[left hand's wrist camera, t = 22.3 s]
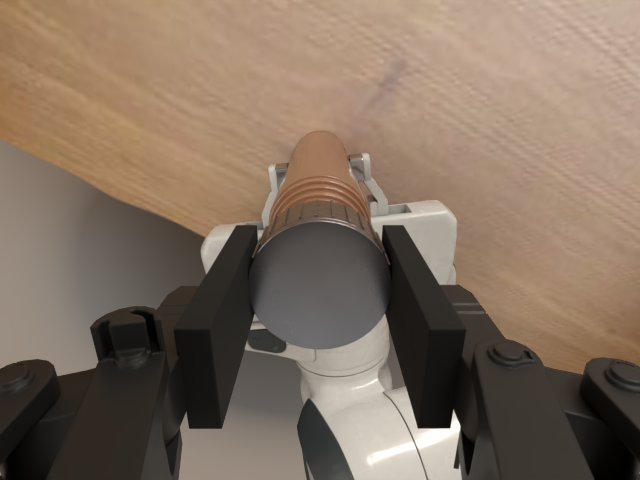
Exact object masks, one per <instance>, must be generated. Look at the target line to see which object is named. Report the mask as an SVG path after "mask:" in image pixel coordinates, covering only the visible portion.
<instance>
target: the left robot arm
mask: <svg viewBox="0 0 640 480" xmlns="http://www.w3.org/2000/svg"><path fill="white" fill-rule="evenodd" d="M257 243H258V232H257V225H236V226H235V228H234V230H233V231H232V233H231V235H230V236H229V238H228V240H227V241H226V243H225V245H224V246H223V248H222V250H221V251H220V253H219V254H218V256H217V258H216V259H215V261H214V263H213V264H212V266H211V268H210V269H209V271H208V273H207V274H206V276H205V278H204V279H203V281H202V283H201V284H200V286H181V287H179V288H177V289H176V290H174V291H173V292H171V293H170V294H168V295H167V297H166V298H165V299H164V301H163V302H162V303H161V306H160V307H159V308H158V309H157V310H155V309H154V308H149V307H145V306H134V307H128V308H123V309H119V310H116V311H113V312H111V313H108V314H106V315H104V316H103V317H101V318H99V319H98V320H96V321H95V322H94V324H93V325H92V326H91V327H90V330H91V334H92V337H93V341H94V345H95V349H96V353H97V357H98V361H99V362H98V364H97V366H96V368H94V369H90V370H86V371H81V372H77V373H72V374H67V375H62V376H57V374H56V371H55V368H54V365H52V364H51V363H50V362H49V361H46V360H39V359H35V360H26V361H20V362H17V363H13V364H10V365H7V366H5V367H3V368H1V369H0V473H1V476H0V480H178V478H179V469H180V460H181V451H182V439H181V432H180V425H181V423H182V420H183V418H184V415H185V413H186V411H187V417H188V424H189V428H190V429H222V426H223V423H224V419H225V416H226V412H227V409H228V405H229V402H230V398H231V395H232V391H233V388H234V384H235V381H236V377H237V374H238V370H239V367H240V363H241V360H242V357H243V353H244V350H245V346H246V343H247V339H248V336H249V332H250V329H251V325H252V322H253V318H254V315H255V313H254V311H253V309H252V307H251V304H250V301H249V289H248V273H249V269H250V266H251V263H252V261H253V259H251V258H252V255H253V253H254V250H255V248H256V245H257ZM382 244H383V246H384V249H385V251H386V255H387V258H388V260H389V263H390V270H391V275H392V285H391V298H390V303H389V306H388V308H387V310H386V312H385V315H386V319H387V322H388V326H389V329H390V333H391V336H392V340H393V343H394V347H395V350H396V354H397V357H398V361H399V364H400V368H401V371H402V375H403V378H404V382H405V385H406V389H407V392H408V396H409V399H410V403H411V406H412V410H413V413H414V417H415V420H416V424H417V427H418V429H450V428H451V422H452V416H453V410H454V412H455V414H456V417H457V419H458V421H459V424H460V426H461V427H460V432H459V438H458V444H457V450H456V455H455V461H454V469H459V465H460V468H461V478H462V480H640V474H639V472H640V367H639V366H637V365H635V364H633V363H630V362H627V361H624V360H619V359H613V358H603V357H602V358H596V359H592V360H590V361H589V362H588V363H587V364H586V367H585V370H584V373H583V375H582V374H577V373H572V372H567V371H562V370H557V369H552V368H549V367H545V366H544V365H543V363H542V361H541V360H540V358H539V357H538V356H537V354H536V353H535V352H533V351H532V350H530V349H529V348H528V347H526V346H524V345H522V344H520V343H517V342H515V341H512V340H508V339H505V337H504V336H503V335H502V333H501V332H500V331H499V329H498V328H497V327H496V325H495V324H494V323H493V321H492V320H491V318H490V317H489V316H488V314H486V312H485V310H484V309H483V308H482V306H481V305H479V302H478V301H477V299H476V298H475V297H474V295H473V294H472V293H471V292H469V291H468V290H466V289H464V288H463V287H461V286H460V285H439V283H438V281H437V280H436V278H435V276H434V275H433V273H432V271H431V270H430V268H429V267H428V265H427V263H426V262H425V260H424V258H423V257H422V255H421V253H420V252H419V250H418V248H417V247H416V245H415V243H414V242H413V240H412V238H411V237H410V235H409V233H408V232H407V230H406V228H405V227H404V225H383V228H382Z"/></svg>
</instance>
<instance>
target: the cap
mask: <svg viewBox="0 0 640 480" xmlns="http://www.w3.org/2000/svg"><path fill="white" fill-rule="evenodd" d="M251 259H253V261H252V263H251V266H250V269H249V273H248V289H249V301H250V304H251V307H252V309H253V311H254V313H255V315H256V316H257V318H258V319H259V321H260V322H261V323H262V324H263V325H264V327H265V328H266V329H267V330H269V331H270V332H271V333H272V334H273V335H275V336H276V337H278V338H279V339H281V340H283V341H285V342H287V343H289V344H292V345H295V346H298V347H302V348H307V349H321V350H323V349H333V348H338V347H342V346H345V345H348V344H350V343H353V342H355V341H357V340H359V339H360V338H362V337H364V336H365V335H366V334H368V333H369V332H370V331H371V330H372V329H373V328H374V327H375V326H376V325H377V324H378V323H379V322H380V320H381V319H382V317H383V316H384V314H385V312H386V310H387V308H388V306H389V303H390V298H391V285H392V275H391V270H390V263H389V260H388V258H387V255H386V251H385V249H384V246H383V244H382V241H381V239H380V236H379V234H378V232H375V230H374V229H373V227H372V224H371V222H370V221H367V220H366V219H365V218H364V217H363V216H362V215H361V214H360V212H359V211H358V212H357V211H355V210H353V209H352V208H350V207H348V206H347V205H346V204H345V205H343V204H339V203H336V202H333V201H332V200H330V201H318V200H315V201H308V202H304V203H303V202H300V204H297V205H295V206H292V207H290V208H289V207H287V208H286V210H285V211H283V212H282V213H280V214H279V215H278V216H277V215H276V216H275V217H274V219H273V220H272V222H271V223H270V224H269V225H268V226H266V227H265V229H264V232H263V234H262V237H261V238H259V240H258V243H257V245H256V248H255V250H254V253H253V255H252V258H251Z"/></svg>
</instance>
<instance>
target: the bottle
mask: <svg viewBox="0 0 640 480" xmlns="http://www.w3.org/2000/svg"><path fill="white" fill-rule="evenodd" d="M315 200H318V201H330V200H332V201H333V202H336V203H339V204H343V205H345V204H346V205H347V206H348V207H350V208H352V209H353V210H355V211H357V212H358V211H359V212H360V214H361V215H362V216H363V217H364V218H365V219H366V220H367V221H370V222H371V216H370V211H369V208H368V206H367V203H366V201H365V198H364V196H363V193H362V191H361V188H360V186H359V183H358V181H357V178H356V176H355V173H354V171H353V168H352V166H351V163H350V161H349V159H348V156H347V154H346V151H345V149H344V146H343V144H342V143H341V141H340V140H339V139H338V138H337V137H336V136H334V135H333V134H331V133H328V132H325V131H315V132H311V133H309V134H307V135H305V136H304V137H303V138H302V139H301V140H300V141H299V142H298V144H297V146H296V148H295V150H294V153H293V155H292V158H291V160H290V163H289V165H288V168H287V170H286V173H285V175H284V178H283V180H282V183H281V185H280V187H279V190H278V192H277V195H276V197H275V200H274V202H273V205H272V208H271V210H270V215H269V224H270V223H271V222H272V220H273V219H274V217H275V216H276V215H277V216H278V215H279V214H280V213H282V212H283V211H285V210H286V208H287V207H289V208H290V207H292V206H295V205H297V204H300V202H303V203H304V202H308V201H315Z"/></svg>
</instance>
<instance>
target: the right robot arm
mask: <svg viewBox="0 0 640 480" xmlns="http://www.w3.org/2000/svg"><path fill="white" fill-rule="evenodd" d="M349 161H350V163H351V166H352V168H353V171H354V173H355V176H356V178H357V181H363V182H364V183H365V185H366V186H367V187H368V189H369V190H370V192H371V193H372V194H373V195H368V196H367V206H368V208H369V211H370V216H371V224H372V227H373V229H374V230H375V232H378V234H379V236H380V239H381V241H382V228H383V225H404V227H405V228H406V230H407V232H408V233H409V235H410V237H411V238H412V240H413V242H414V243H415V245H416V247H417V248H418V250H419V252H420V253H421V255H422V257H423V258H424V260H425V262H426V263H427V265H428V267H429V268H430V270H431V271H432V273H433V275H434V276H435V278H436V280H437V281H438V283H439V285H456V268H455V265H454V263H453V260H454V254H455V247H456V238H457V220H456V217H455V216H454V214H453V213H452V212H451V211H450V210H449V209H448V208H447V207H446V206H445V205H444V204H442V203H441V202H440V201H438V200H428V201H420V202H411V203H403V204H394V205H388V200H387V198H386V196H385V195H384V193H383V192H382V190H381V189H380V187H379V186H378V185H377V183H376V182H375V180H374V179H373V178H372V176H371V167H370V158H369V154H368V153H362V154H354V155H349ZM288 165H289V163H283V164H273V165H270V166H269V167H268V171H269V179H270V184H271V191H270V194H269V196H268V199H267V202H266V204H265V207H264V210H263V212H262V215H261V216H262V220H260V221H251V222H243V223H235V224H226V225H219V226H216V227H214V228H213V229H212V231H211V232H210V233H209V234H208V235H207V237H206V239H205V240H204V242H203V244H202V247H201V257H202V262H203V265H204V269H205V272H206V274H207V273H208V271H209V269H210V268H211V266H212V264H213V263H214V261H215V259H216V258H217V256H218V254H219V253H220V251H221V250H222V248H223V246H224V245H225V243H226V241H227V240H228V238H229V236H230V235H231V233H232V231H233V230H234V228H235V226H236V225H257V232H258V240H259V238H261V237H262V234H263V232H264V229H265V227H266V226H268V225H269V215H270V210H271V208H272V205H273V202H274V200H275V197H276V195H277V192H278V190H279V187H280V185H281V183H282V180H283V178H284V175H285V173H286V170H287V168H288ZM245 350H248V351H255V352H261V353H267V354H273V355H277V356H282V357H286V358H290V359H294V360H295V361H296V363H297V365H298V367H299V369H300V370H301V374H302V375H301V381H300V392H301V397H302V403H303V409H302V411H301V415H300V418H299V421H298V425H297V430H298V436H299V440H300V444H301V447H302V453H303V460H304V466H305V472H306V477H307V480H462V478H461V468H460V465H459V469H454V461H455V455H456V450H457V444H458V438H459V432H460V427H461V426H460V424H459V421H458V419H457V417H456V414H455V412H454V410H453V416H452V422H451V428H450V429H418V427H417V424H416V420H415V417H414V413H413V410H412V406H411V403H410V399H409V396H408V392H407V389H406V386H404V387H401V388H397V389H394V390H393V383H392V376H391V373H390V370H389V368H388V366H387V359H388V355H389V350H390V339H389V326H388V322H387V319H386V315H385V314H384V316H383V317H382V319H381V320H380V322H379V323H378V324H377V325H376V326H375V327H374V328H373V329H372V330H371V331H370V332H369V333H368V334H366V335H365V336H364V337H362V338H360V339H359V340H357V341H355V342H353V343H350V344H348V345H345V346H342V347H338V348H333V349H323V350H321V349H307V348H302V347H298V346H295V345H292V344H289V343H287V342H285V341H283V340H281V339H279V338H278V337H276V336H275V335H273V334H272V333H271V332H270V331H269V330H267V329H266V328H265V327H264V325H263V324H262V323H261V322H260V321H259V319H258V318H257V316H256V315H254V318H253V322H252V325H251V329H250V332H249V336H248V339H247V343H246V346H245Z"/></svg>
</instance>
